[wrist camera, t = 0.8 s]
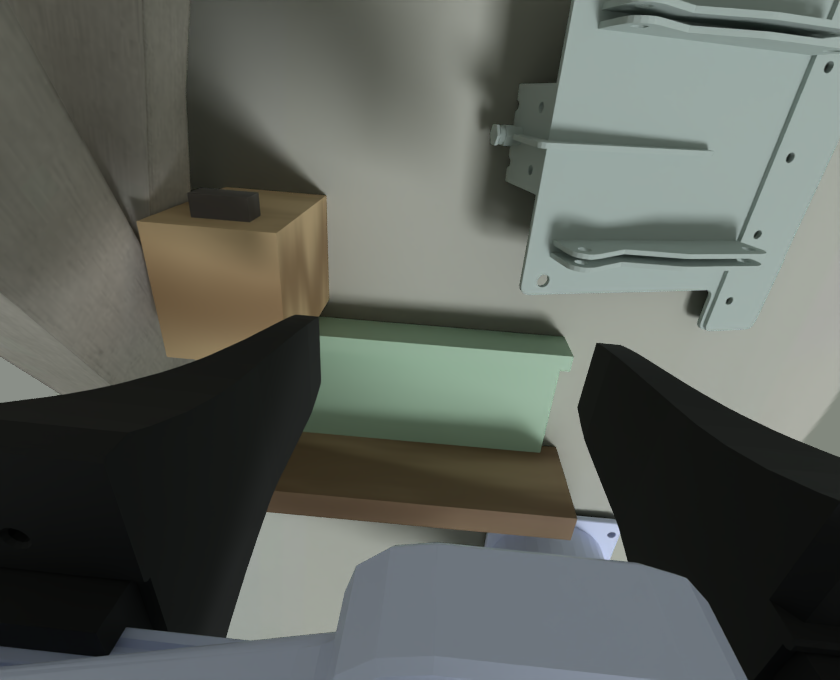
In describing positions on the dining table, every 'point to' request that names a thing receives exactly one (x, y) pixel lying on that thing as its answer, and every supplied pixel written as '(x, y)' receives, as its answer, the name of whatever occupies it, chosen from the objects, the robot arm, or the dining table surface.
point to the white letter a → (87, 182)
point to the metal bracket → (677, 148)
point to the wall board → (427, 485)
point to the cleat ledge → (436, 384)
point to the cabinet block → (234, 265)
